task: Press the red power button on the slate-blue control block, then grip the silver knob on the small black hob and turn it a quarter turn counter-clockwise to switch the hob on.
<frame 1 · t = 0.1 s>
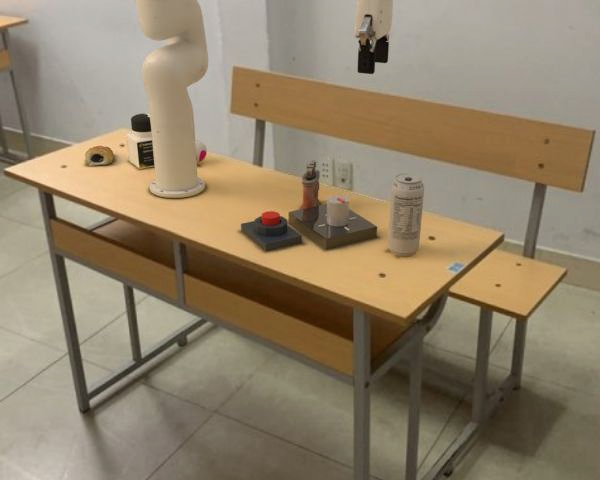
hand: (372, 67, 150), 31 cm above the table, tool pointing down, fingers open, 9 cm apart
hob knob: (337, 210, 155), point 5 cm above the table, hinge at 0.0°
lighter: (310, 209, 169), on the table
energy drink can: (402, 251, 151), on the table
hob: (331, 230, 159), on the table
control block: (271, 237, 156), on the table
medicine bottle: (147, 163, 194), on the table
stress ball: (194, 164, 194), on the table
power button: (270, 218, 154), point 4 cm above the table, slide at 0.2 cm
pastry: (100, 161, 195), on the table
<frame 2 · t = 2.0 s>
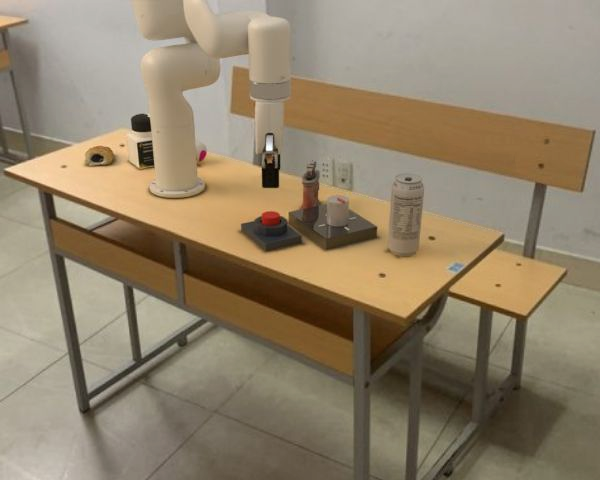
hand: (271, 178, 150), 12 cm above the table, tool pointing down, fingers open, 9 cm apart
nothing on the table moved.
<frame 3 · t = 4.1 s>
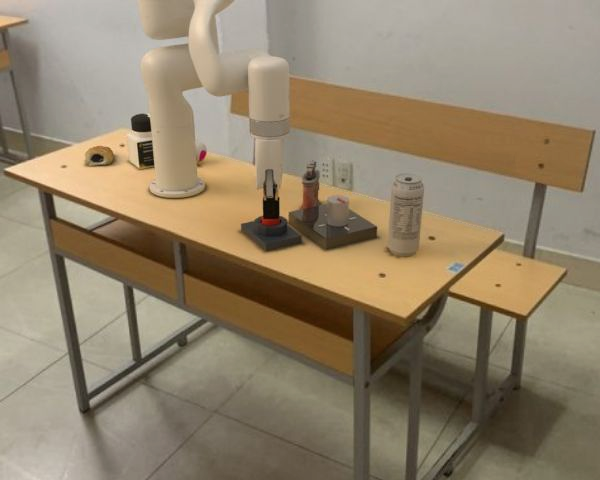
hand: (271, 217, 153), 4 cm above the table, tool pointing down, fingers closed
power button: (270, 221, 154), point 4 cm above the table, slide at -0.3 cm, touching gripper
everything else where it was.
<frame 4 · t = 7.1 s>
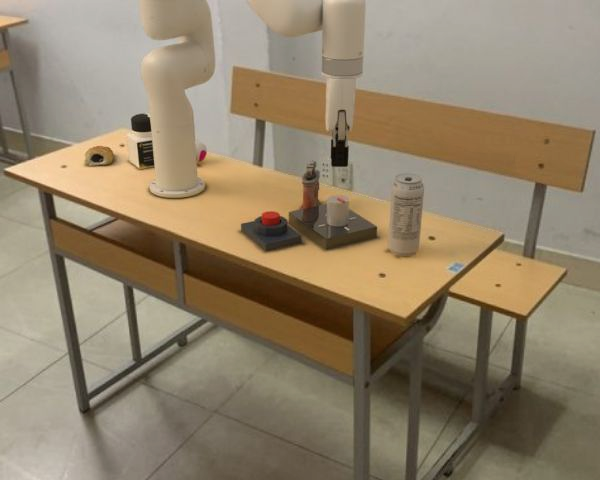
hand: (339, 162, 150), 15 cm above the table, tool pointing down, fingers open, 3 cm apart
power button: (270, 218, 154), point 4 cm above the table, slide at 0.1 cm
everything else where it was.
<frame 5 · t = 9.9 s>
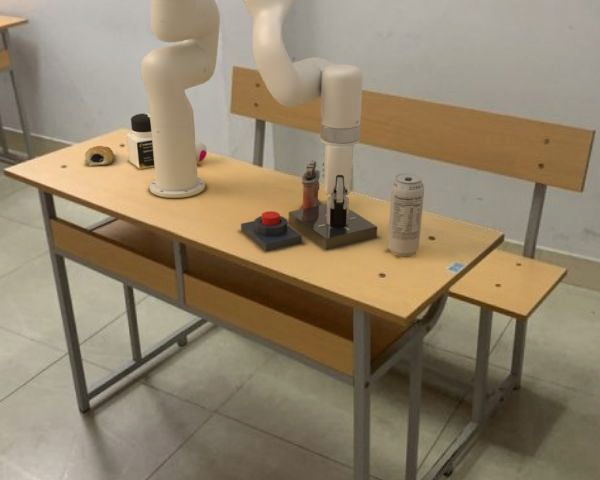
hand: (337, 220, 156), 3 cm above the table, tool pointing down, fingers closed on hob knob, 4 cm apart
hob knob: (337, 210, 155), point 5 cm above the table, hinge at -0.1°, touching gripper
everything else where it was.
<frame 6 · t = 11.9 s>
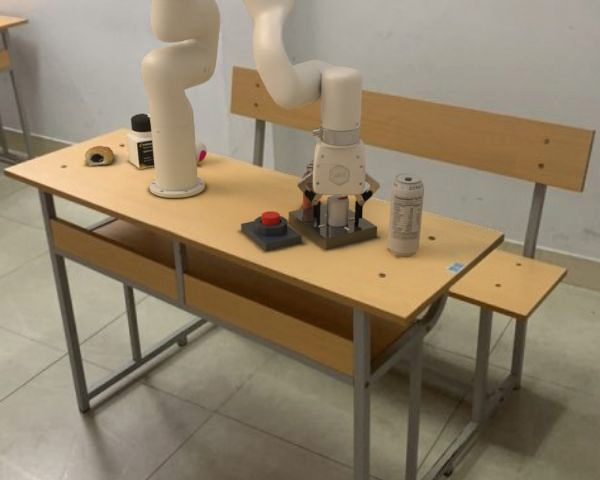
hand: (337, 220, 156), 3 cm above the table, tool pointing down, fingers open, 7 cm apart
hob knob: (337, 210, 155), point 5 cm above the table, hinge at 90.5°
everything else where it was.
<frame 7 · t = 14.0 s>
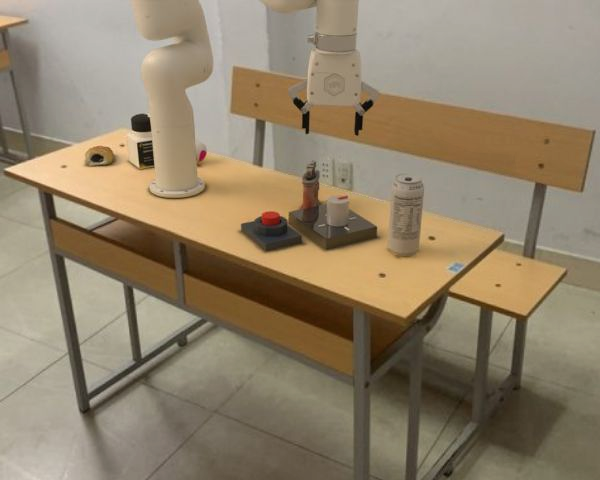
hand: (331, 132, 151), 20 cm above the table, tool pointing down, fingers open, 9 cm apart
nothing on the table moved.
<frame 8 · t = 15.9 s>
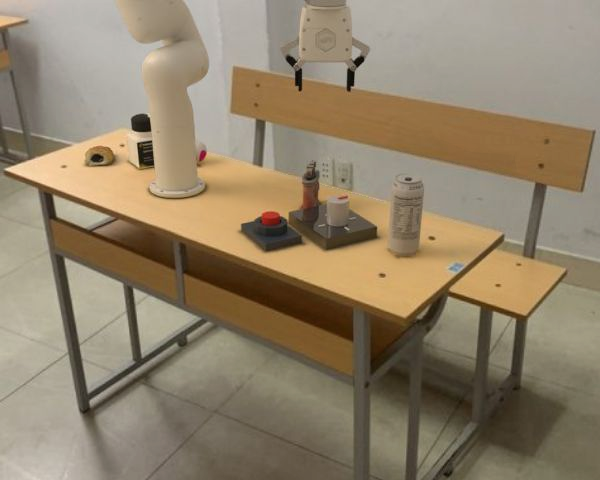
hand: (324, 89, 154), 26 cm above the table, tool pointing down, fingers open, 9 cm apart
nothing on the table moved.
at the end: power button pushed in 1.1 cm at the most during the clip, back to where it started at the end; power button slide at 0.1 cm; hob knob at +90° (first picture: +0°) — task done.
